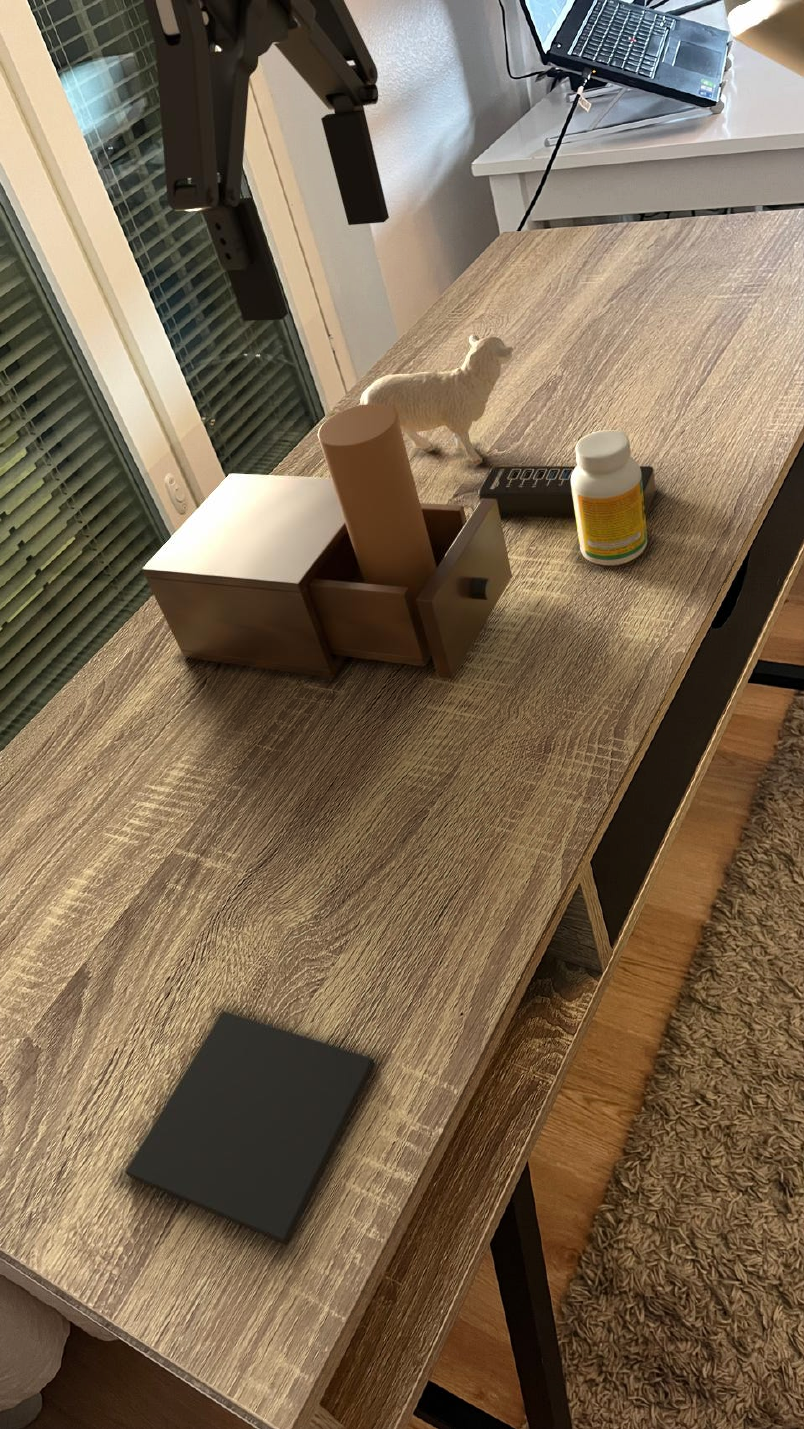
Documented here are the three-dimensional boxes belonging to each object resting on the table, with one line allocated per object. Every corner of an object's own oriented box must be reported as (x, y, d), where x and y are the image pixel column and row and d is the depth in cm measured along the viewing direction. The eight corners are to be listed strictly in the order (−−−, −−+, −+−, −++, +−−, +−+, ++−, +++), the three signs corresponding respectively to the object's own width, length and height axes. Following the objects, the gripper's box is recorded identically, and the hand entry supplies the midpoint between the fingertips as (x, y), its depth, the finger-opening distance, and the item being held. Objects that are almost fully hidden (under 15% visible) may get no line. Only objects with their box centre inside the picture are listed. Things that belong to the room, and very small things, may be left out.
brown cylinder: (456, 588, 84) (410, 403, 74) (427, 634, 81) (375, 447, 70) (393, 582, 87) (340, 403, 76) (363, 626, 83) (303, 445, 73)
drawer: (526, 577, 85) (511, 499, 80) (467, 682, 78) (447, 602, 73) (365, 564, 92) (343, 491, 87) (297, 659, 84) (268, 585, 79)
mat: (375, 1063, 58) (372, 1058, 58) (287, 1245, 52) (283, 1240, 52) (226, 1015, 62) (222, 1009, 62) (128, 1177, 56) (124, 1172, 56)
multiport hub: (645, 518, 89) (642, 495, 87) (481, 515, 95) (476, 493, 93) (656, 489, 91) (654, 465, 90) (496, 487, 97) (492, 465, 96)
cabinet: (405, 571, 91) (379, 479, 85) (332, 678, 83) (298, 584, 77) (263, 559, 98) (230, 473, 92) (183, 657, 90) (141, 569, 84)
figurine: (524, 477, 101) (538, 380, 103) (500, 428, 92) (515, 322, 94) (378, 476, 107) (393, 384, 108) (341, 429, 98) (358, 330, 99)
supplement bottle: (570, 543, 88) (554, 440, 82) (629, 521, 89) (618, 416, 83) (598, 576, 84) (583, 470, 78) (660, 552, 85) (650, 445, 78)
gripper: (263, -191, 62) (358, 192, 76) (-22, -88, 47) (161, 365, 61) (376, -225, 58) (453, 183, 72) (108, -125, 43) (270, 364, 57)
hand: (320, 267), depth 67 cm, fingers open, 13 cm apart
